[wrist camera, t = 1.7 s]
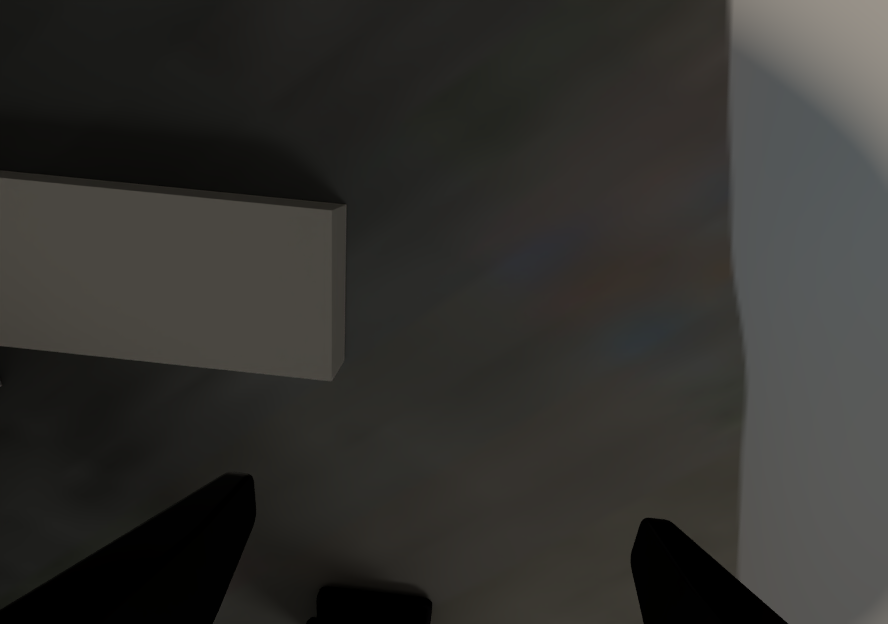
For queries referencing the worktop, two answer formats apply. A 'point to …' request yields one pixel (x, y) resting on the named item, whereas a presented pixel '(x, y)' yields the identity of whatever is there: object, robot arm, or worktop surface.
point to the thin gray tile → (172, 275)
